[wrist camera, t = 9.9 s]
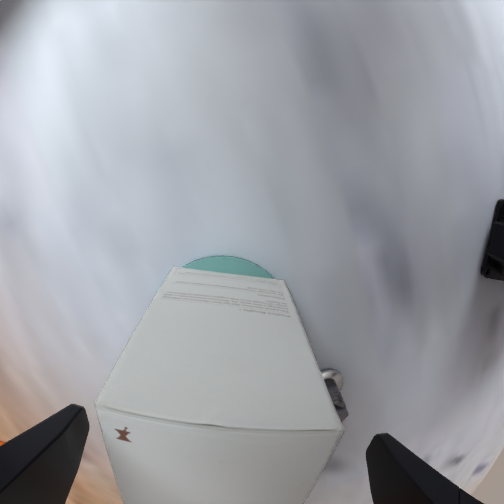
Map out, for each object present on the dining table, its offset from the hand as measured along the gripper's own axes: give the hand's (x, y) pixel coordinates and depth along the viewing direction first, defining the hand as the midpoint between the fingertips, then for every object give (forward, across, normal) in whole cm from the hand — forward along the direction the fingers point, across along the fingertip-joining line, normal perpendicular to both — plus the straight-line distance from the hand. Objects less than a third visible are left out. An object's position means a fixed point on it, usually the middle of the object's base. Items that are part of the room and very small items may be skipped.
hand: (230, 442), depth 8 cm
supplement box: (+12, +1, +3) cm, 13 cm away
